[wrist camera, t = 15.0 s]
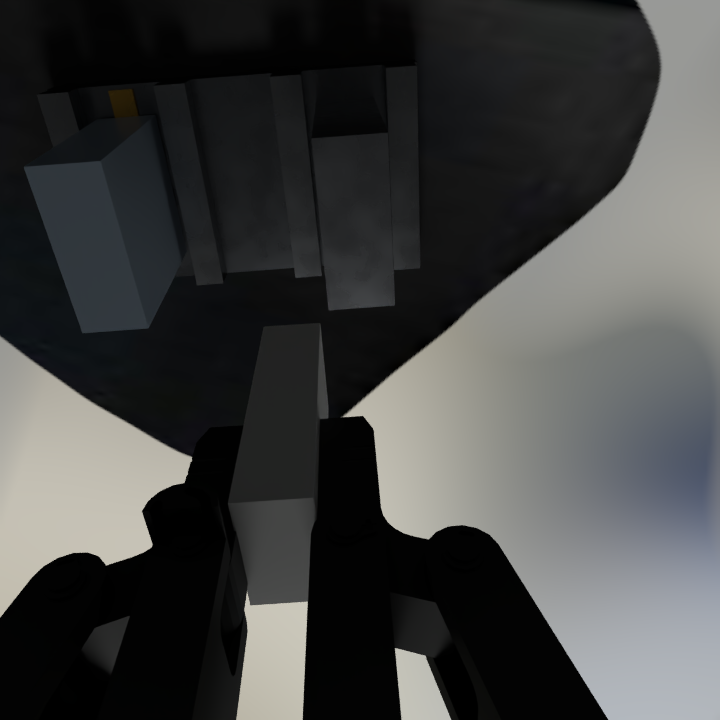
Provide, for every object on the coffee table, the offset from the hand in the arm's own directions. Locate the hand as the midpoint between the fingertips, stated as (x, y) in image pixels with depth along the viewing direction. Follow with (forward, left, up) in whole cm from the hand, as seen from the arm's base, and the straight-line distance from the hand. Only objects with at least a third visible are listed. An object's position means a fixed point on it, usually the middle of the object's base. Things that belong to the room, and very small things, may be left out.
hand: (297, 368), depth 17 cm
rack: (+3, -5, -33) cm, 33 cm away
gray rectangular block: (+3, -13, -31) cm, 34 cm away
